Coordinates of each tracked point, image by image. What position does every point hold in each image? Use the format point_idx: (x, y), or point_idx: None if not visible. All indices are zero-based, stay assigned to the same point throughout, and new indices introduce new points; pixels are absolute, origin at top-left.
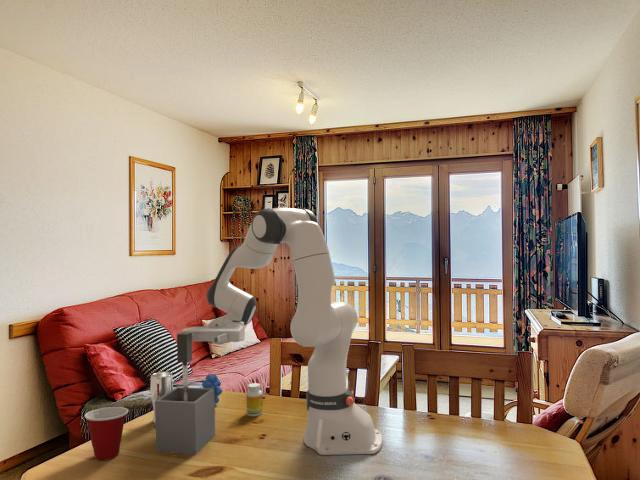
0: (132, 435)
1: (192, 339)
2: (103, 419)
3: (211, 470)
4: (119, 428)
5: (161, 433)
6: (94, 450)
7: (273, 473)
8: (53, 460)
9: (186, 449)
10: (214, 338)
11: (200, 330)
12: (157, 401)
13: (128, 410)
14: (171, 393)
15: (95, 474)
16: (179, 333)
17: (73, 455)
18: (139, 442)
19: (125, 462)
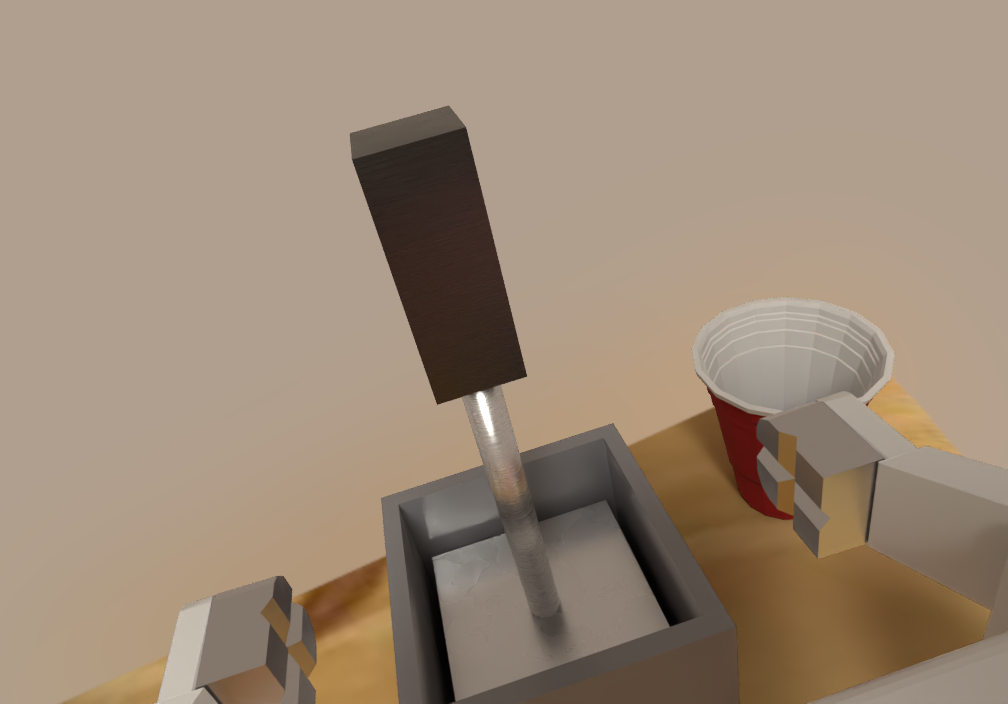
0: (940, 646)
1: (799, 514)
2: (709, 324)
3: (328, 604)
4: (718, 416)
5: None
6: None
7: (91, 695)
8: (906, 395)
9: None
10: (285, 585)
11: (954, 674)
12: (598, 429)
13: (745, 407)
14: (658, 539)
15: (674, 425)
16: (450, 114)
17: None
18: (806, 614)
19: (665, 496)
